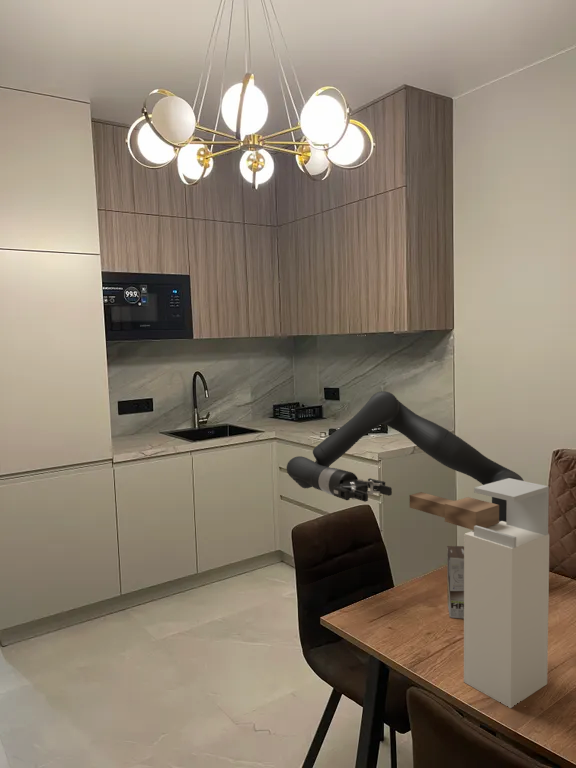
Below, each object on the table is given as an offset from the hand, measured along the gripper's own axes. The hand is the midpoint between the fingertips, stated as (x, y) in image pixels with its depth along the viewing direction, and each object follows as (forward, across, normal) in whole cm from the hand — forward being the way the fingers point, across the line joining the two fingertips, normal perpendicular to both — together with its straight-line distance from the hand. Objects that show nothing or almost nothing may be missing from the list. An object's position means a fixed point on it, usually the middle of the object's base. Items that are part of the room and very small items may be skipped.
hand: (379, 494), depth 151 cm
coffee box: (+12, +18, +32) cm, 39 cm away
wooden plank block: (+23, -1, 0) cm, 23 cm away
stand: (+38, -1, +32) cm, 50 cm away
